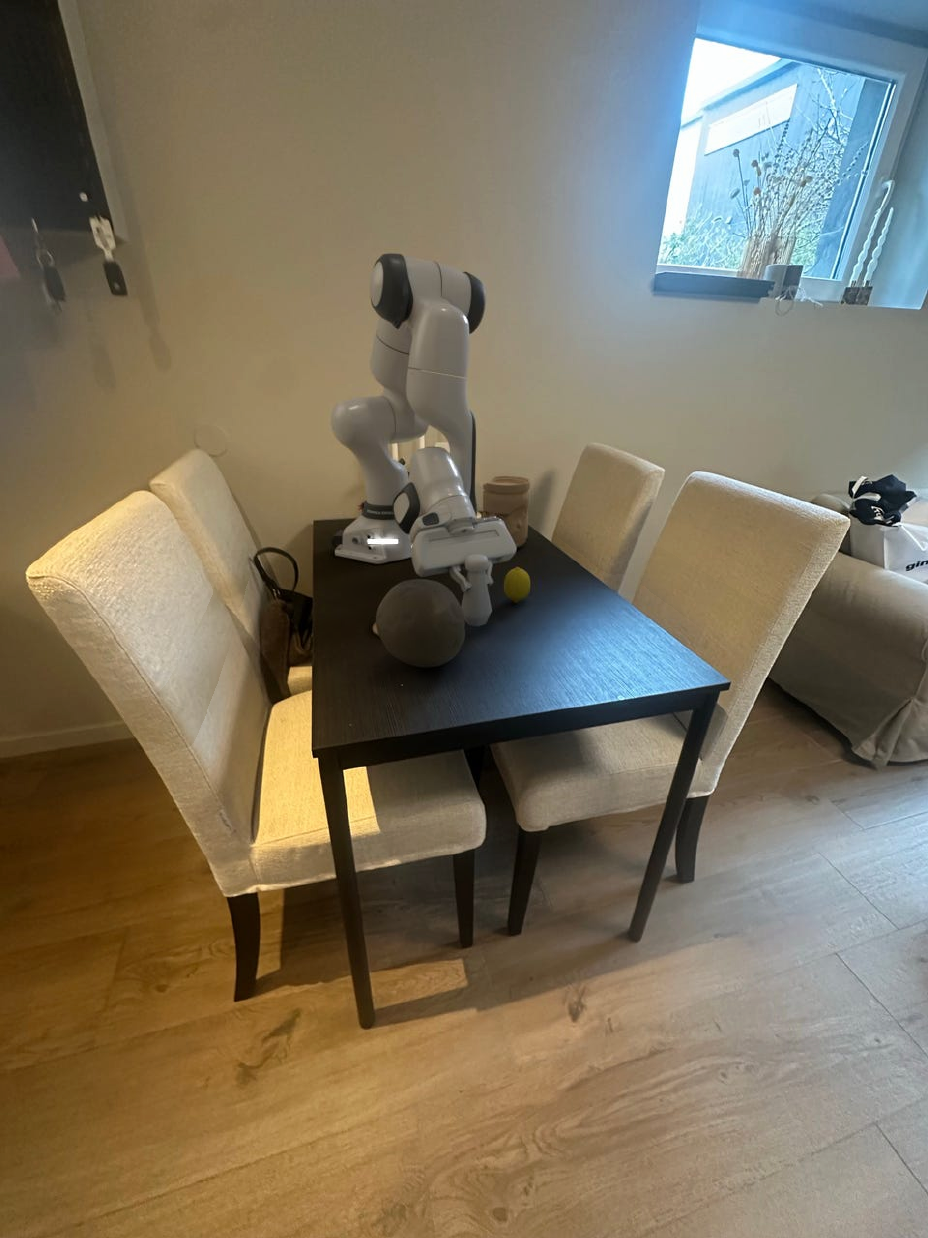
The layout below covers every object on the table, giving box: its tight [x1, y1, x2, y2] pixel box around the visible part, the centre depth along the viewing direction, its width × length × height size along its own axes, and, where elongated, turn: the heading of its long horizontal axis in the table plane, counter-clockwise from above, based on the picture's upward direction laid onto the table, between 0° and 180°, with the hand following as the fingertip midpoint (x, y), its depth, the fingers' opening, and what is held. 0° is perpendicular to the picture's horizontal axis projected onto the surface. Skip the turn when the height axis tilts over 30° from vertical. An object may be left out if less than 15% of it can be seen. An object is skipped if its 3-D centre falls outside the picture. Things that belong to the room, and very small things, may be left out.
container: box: [482, 475, 531, 548], centre depth 137 cm, size 13×13×18 cm
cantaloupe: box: [375, 578, 466, 669], centre depth 81 cm, size 14×14×15 cm
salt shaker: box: [461, 554, 493, 627], centre depth 92 cm, size 6×6×13 cm
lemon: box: [503, 566, 531, 603], centre depth 105 cm, size 6×6×8 cm
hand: (478, 587), depth 91 cm, fingers closed on salt shaker, 3 cm apart
